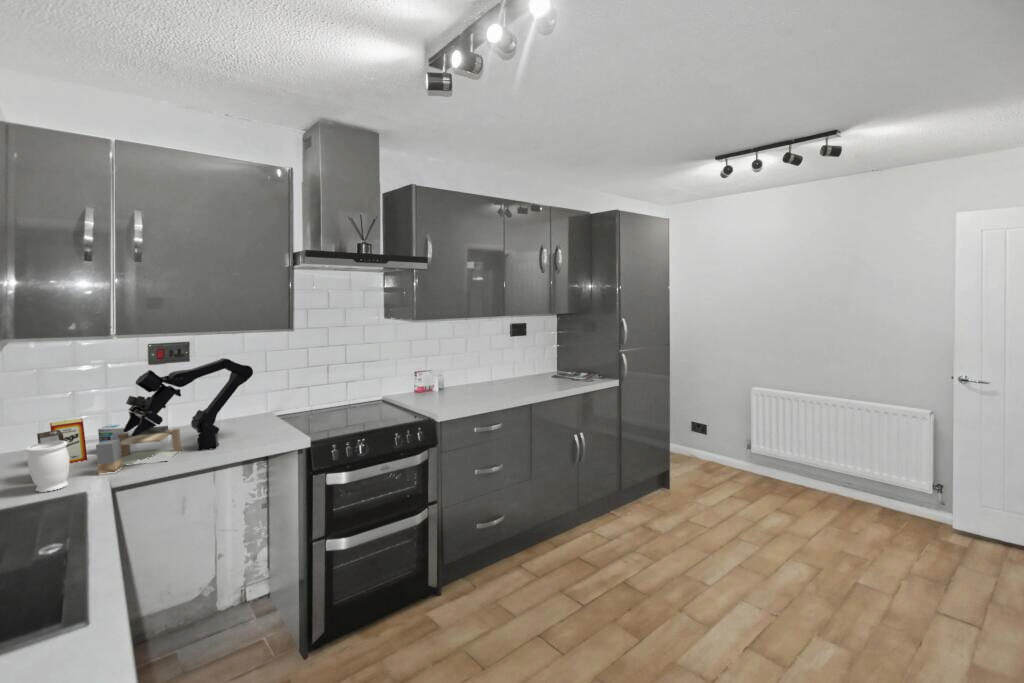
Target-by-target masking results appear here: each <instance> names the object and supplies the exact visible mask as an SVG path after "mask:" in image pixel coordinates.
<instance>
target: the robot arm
mask: <svg viewBox="0 0 1024 683" xmlns="http://www.w3.org/2000/svg"><path fill="white" fill-rule="evenodd" d="M224 369H225V370H227V371H228V372H231V373H230V374H229V378H228V381H227V382H226V383H225V385H224V386H223V387H222V388H221V389H220V391H219V392H218V393H217V395H216V396H215V397H214V398H213V400H211V402H210V403H209V405H208V406H207V407H206V408H205V409H204V410H201V409H198V410H197V411H196V413H195V414H194V415H193V416H192V417H191V419H192V420H191V421H190V425H191V427H192V429H193V430H195V431H196V433H197V435H198V436H197V439H196V442H197V448H198V451H203V450H202V449H208V450H211V449H210V448H216V447H217V446H218V445H219V444H221V443H220V442H219V439H218V438H219V437H218V435H219V431H220V428H219V427H218V426H216V425H214V424H215V423H216V420H217V415H218V414H219V412H220V411H221V410H222V408H223V407H224V406H225V404H226V403H227V402H228V401H229V399H230V398H231V397H232V396H233V394H234V393H235V392H236V390H237V389H238V387H240V386H241V385H243V384H245V383H246V382H247V381H248V380H249V379H251V377H252V376H254V371H253V370H254V369H253V367H252V366H249V365H247V364H240V363H238V362H235V361H233V360H231V359H229V358H224V357H223V358H220V359H218V360H215V361H213V362H209V363H206V364H203V365H200V366H197V367H193V368H190V369H181V370H176V371H171V372H170V373H169V374H168V375H164V376H159V375H158V374H156V373H155V372H154V371H152V370H151V369H149V370H148V371H146V372H144V373H143V374H142V375H140V376H139V377H138V378H137V379H136V380H135V385H137V386H139V387H140V388H141V389H142V390H145V391H146V392H148V393H152V392H153V394H152V395H151V396H147V397H145V396H141V395H139V396H137V397H136V396H134V395H129V396H128V397H127V399H126V400H127V401H126V403H125V404H126V405H129V406H130V408H128V415H129V419H128V421H127V423H126V426H125V428H124V430H123V431H124V432H128V431H129V430H131V429H133V428H134V427H135V430H134V431H133V433H132V436H136V435H138V434H140V433H142V432H144V431H146V430H148V429H150V428H152V427H158V426H160V425H161V423H162V422H163V420H164V419H163V417H162V416H160V415H159V412H161V411H162V409H165V408H166V407H167V404H168V402H170V400H171V399H172V398H173V397H174V396H177V397H181V396H182V393H181V391H182V390H181V389H180V388H183V387H185V386H187V385H190V384H191V383H193V382H194V381H195V380H196V379H199V378H201V377H204V376H207V375H210V374H211V375H212V374H213V373H216V372H220V371H222V370H224ZM165 384H167V385H165ZM174 387H178V388H174ZM157 425H158V426H157ZM219 446H220V445H219ZM219 446H218V447H219ZM218 447H217V448H218ZM217 448H216V449H217Z"/></svg>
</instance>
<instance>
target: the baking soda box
mask: <svg viewBox="0 0 1024 683" xmlns="http://www.w3.org/2000/svg"><path fill="white" fill-rule="evenodd" d="M49 426H50V431H54V430H60V431H61V432H62V433H63V438H64V441H67V445H66V449H67V451H68V454H69V463H71V464H74V463H73V462H76V463H79V462H78V461H81V462H85V461H84V460H86V461H88V454H87V446H86V437H85V435H86V434H85V429H84V428H85V427H84V420H83V418H81V417H80V418H76V419H75V418H74V419H67V420H66V419H64V420H59V421H54V422H50V423H49Z"/></svg>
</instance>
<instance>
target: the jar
mask: <svg viewBox="0 0 1024 683" xmlns="http://www.w3.org/2000/svg"><path fill="white" fill-rule="evenodd" d="M66 445H67V441H51V442H44V443H39V444H38V443H37V444H32V445H30V446H28V447H26V450H25V452H26V453H28V456H27V468H28V471H29V473H30V476H31V480H32V482H33V483H34V484H35V486H36V488H35V492H36V491H39V492H38V493H48V492H47V491H50V492H54V491H53V490H55V491H58V490H61V489H63V487H64V488H65V486H66V487H67V486H68V485H69V482H68V481H67V479H68V477H69V471H70V470H69V469H70V464H69V454H68V451H67V449H66ZM60 488H61V489H60ZM57 489H58V490H57Z"/></svg>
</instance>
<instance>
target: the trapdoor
mask: <svg viewBox="0 0 1024 683" xmlns="http://www.w3.org/2000/svg"><path fill="white" fill-rule="evenodd" d="M171 430H172V429H169V426H168V425H163V426H162V425H161V426H160V425H158V426H154V427H152V428H150V429H148V430H146V431H144V432H142V433H140V434H138V435H136V436H132V435H131V436H129V437H127V438H126V439H124V440H122V441H121V442H119V445H127V444H137V445H138V444H146V443H160V442H162V441H164V440H165V439H166V438H168V436H169V437H170V432H171Z"/></svg>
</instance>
